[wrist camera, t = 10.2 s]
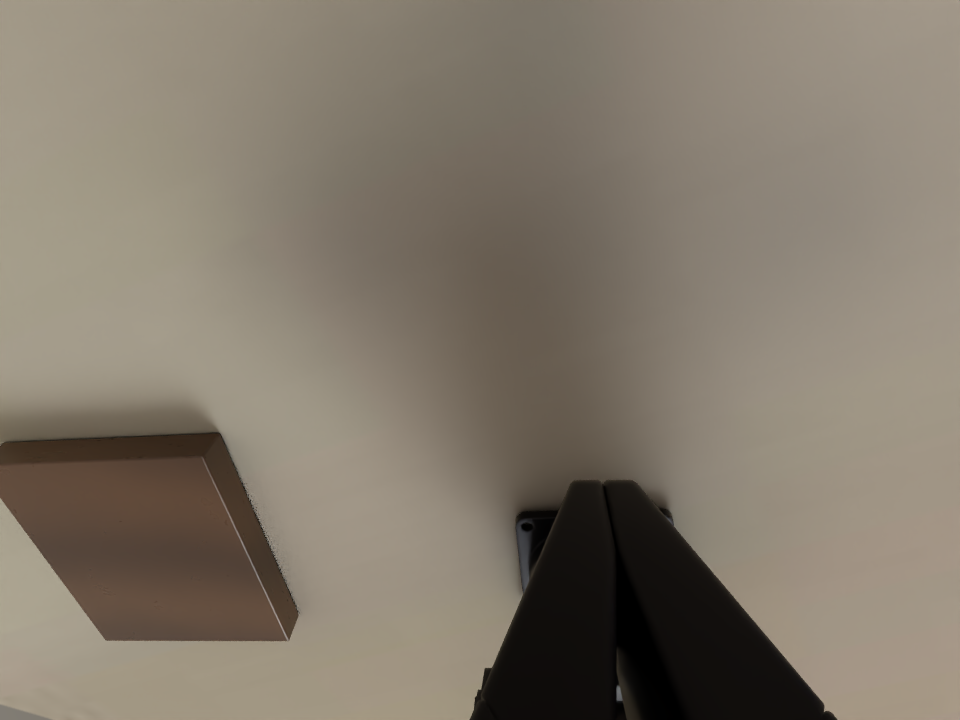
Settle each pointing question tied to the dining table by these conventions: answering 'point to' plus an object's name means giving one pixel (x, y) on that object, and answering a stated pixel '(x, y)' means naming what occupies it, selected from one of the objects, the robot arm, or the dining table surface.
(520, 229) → the dining table surface
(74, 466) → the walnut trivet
